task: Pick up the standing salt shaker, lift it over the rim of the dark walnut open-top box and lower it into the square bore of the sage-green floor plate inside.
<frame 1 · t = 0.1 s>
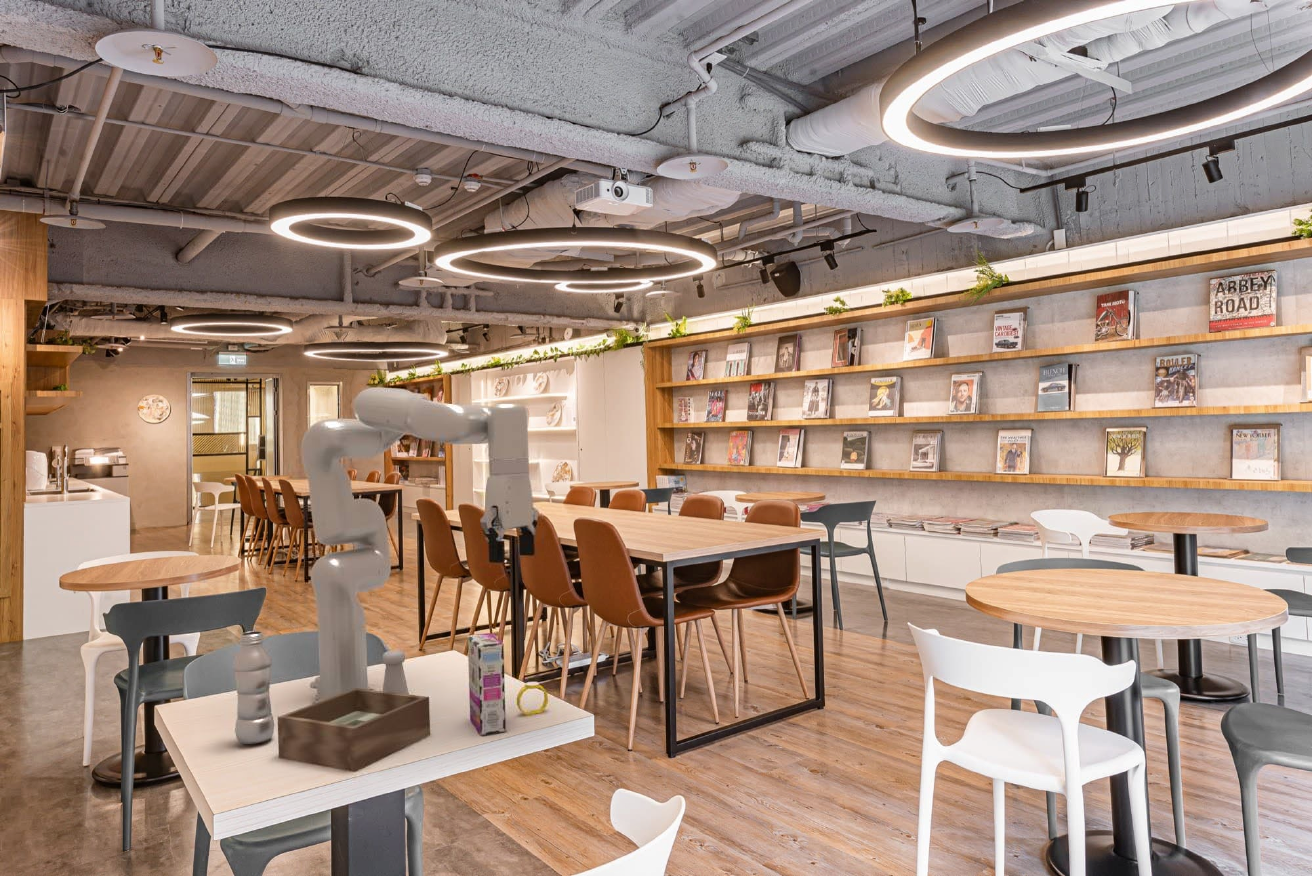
hand: (512, 558, 157), 31 cm above the table, fingers open, 9 cm apart
candy bar box: (488, 726, 156), on the table
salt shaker: (395, 718, 163), on the table
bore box: (356, 746, 147), on the table
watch: (532, 714, 162), on the table
plastic bottle: (255, 743, 151), on the table
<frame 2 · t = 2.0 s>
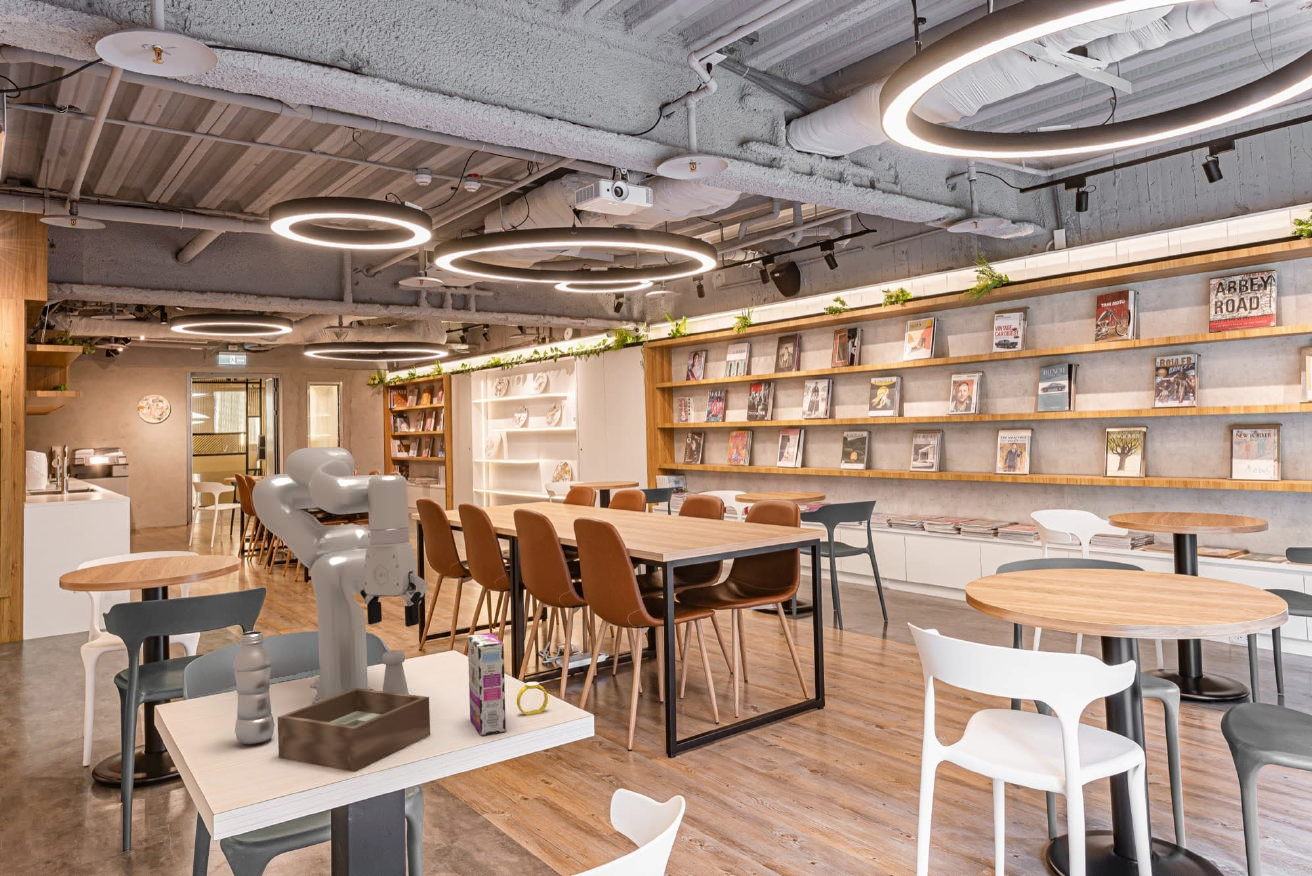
hand: (393, 624, 163), 18 cm above the table, fingers open, 9 cm apart
nothing on the table moved.
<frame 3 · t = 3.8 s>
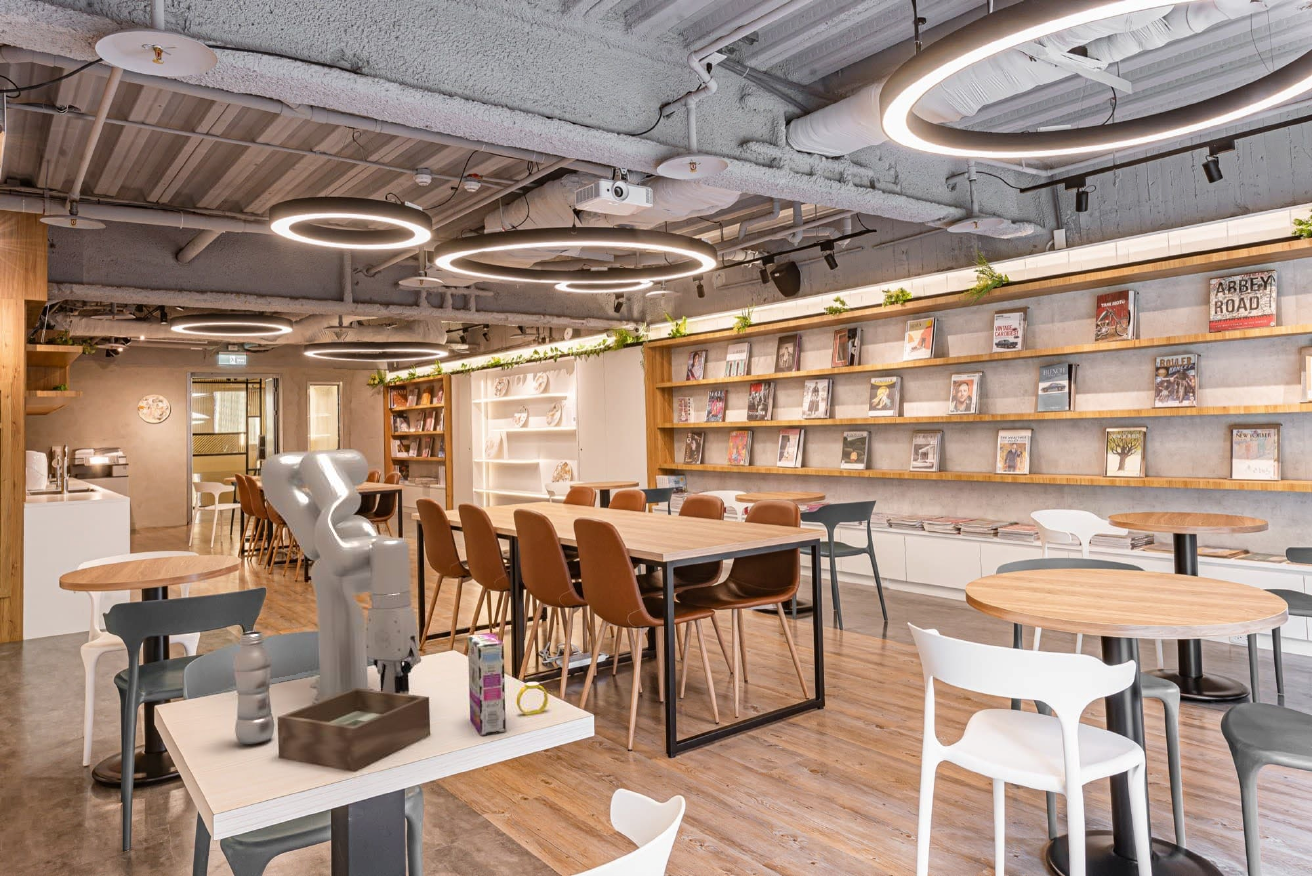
hand: (395, 693, 163), 5 cm above the table, fingers closed on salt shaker, 3 cm apart
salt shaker: (395, 718, 163), on the table, touching gripper
everything else where it was.
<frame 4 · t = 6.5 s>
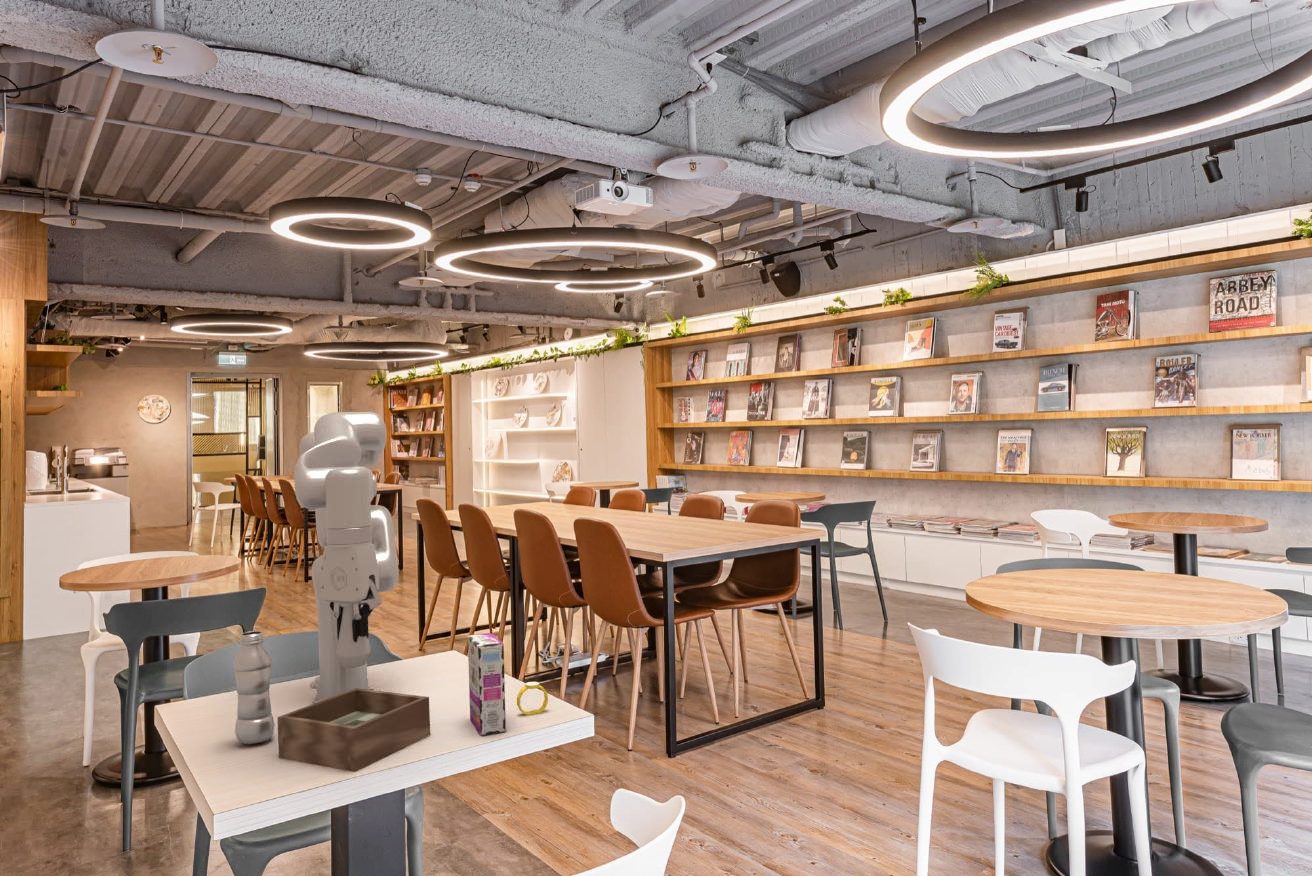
hand: (353, 638, 148), 19 cm above the table, fingers closed on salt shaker, 3 cm apart
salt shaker: (354, 666, 148), point 14 cm above the table, touching gripper
everything else where it was.
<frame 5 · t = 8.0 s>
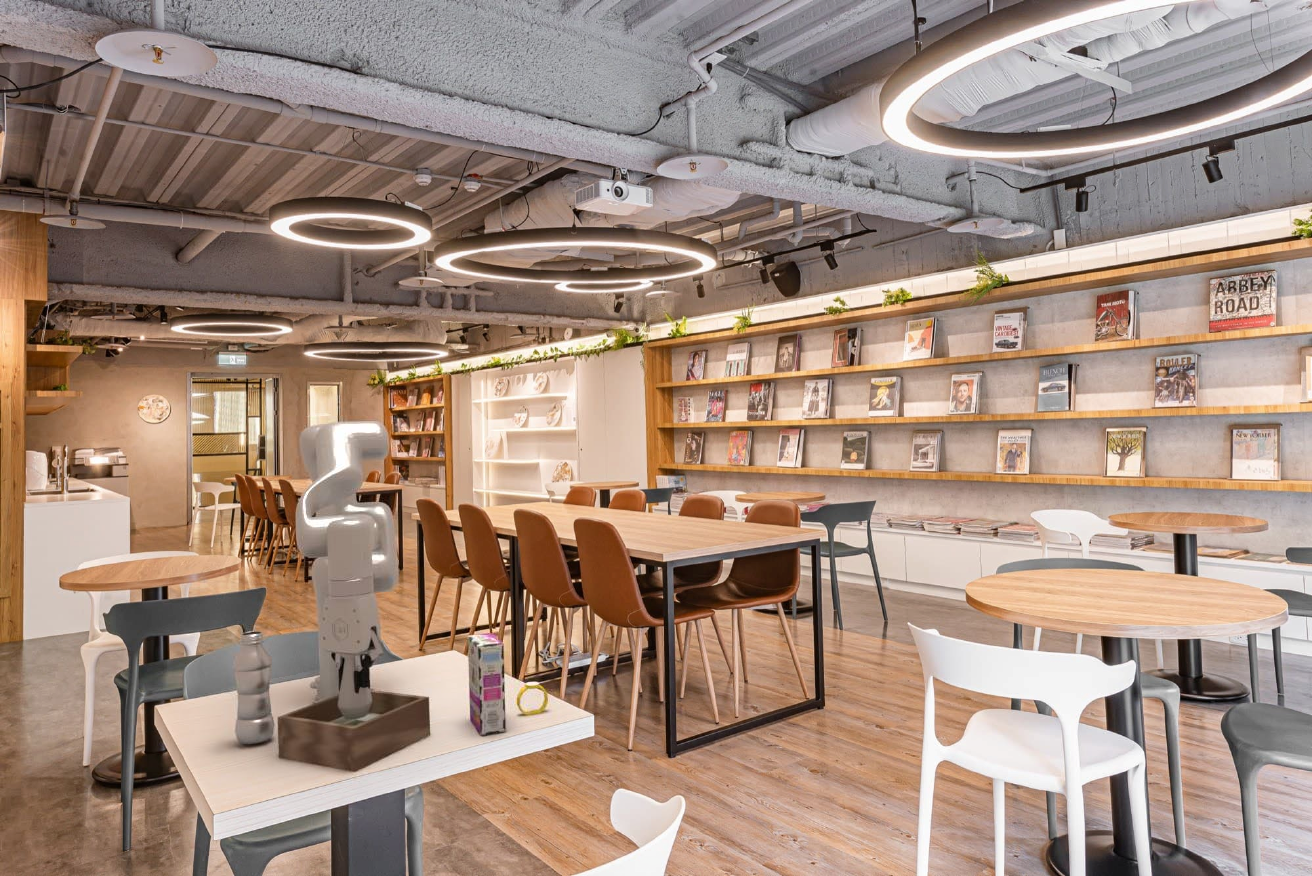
hand: (354, 689, 148), 10 cm above the table, fingers closed on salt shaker, 3 cm apart
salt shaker: (355, 716, 148), point 5 cm above the table, touching gripper
everything else where it was.
when the fingers open (6 cm above the table, at t = 9.3 s): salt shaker stays where it is, resting in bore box.
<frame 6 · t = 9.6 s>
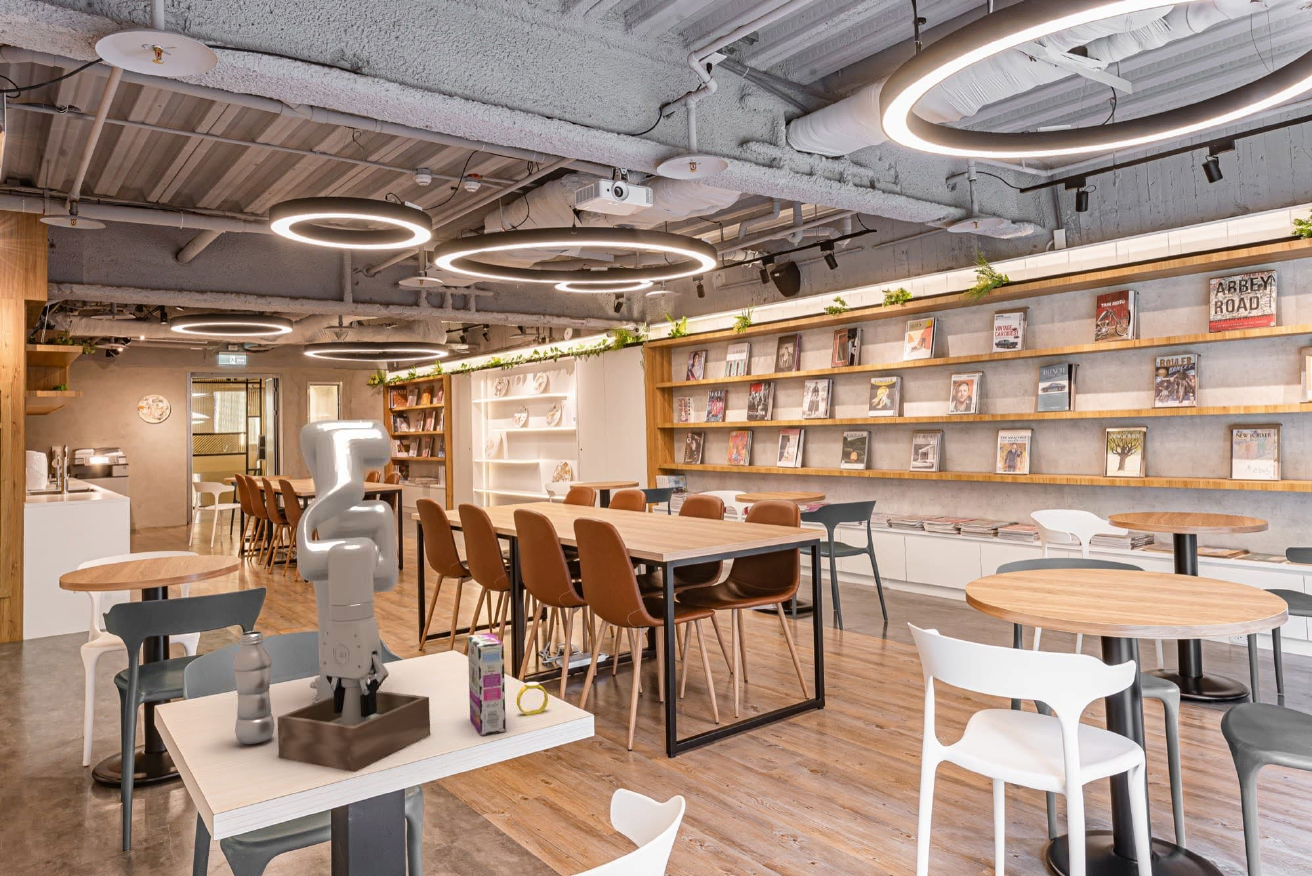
hand: (355, 712, 147), 6 cm above the table, fingers open, 5 cm apart
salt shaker: (356, 746, 147), resting in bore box
everything else where it was.
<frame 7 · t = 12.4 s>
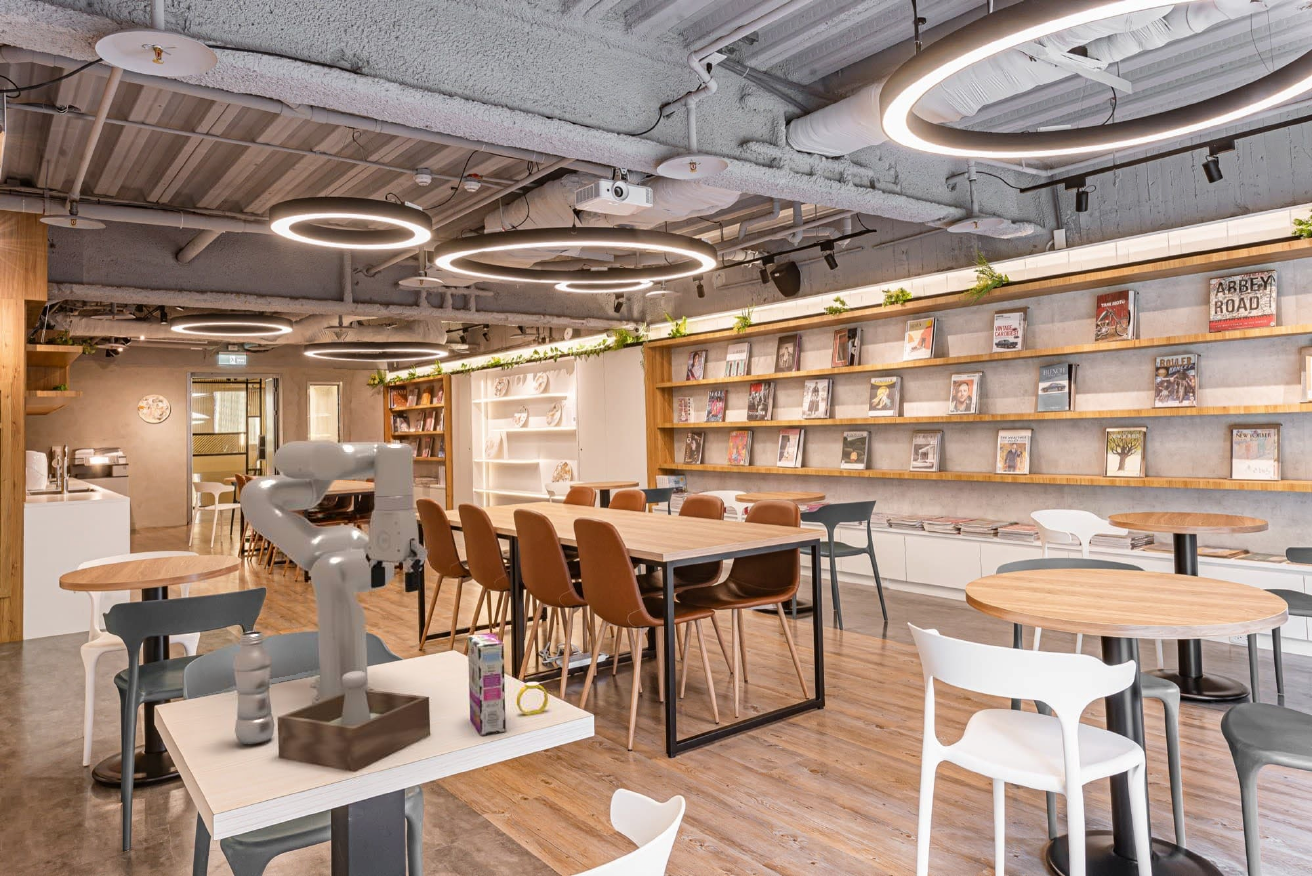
hand: (395, 589, 166), 25 cm above the table, fingers open, 9 cm apart
nothing on the table moved.
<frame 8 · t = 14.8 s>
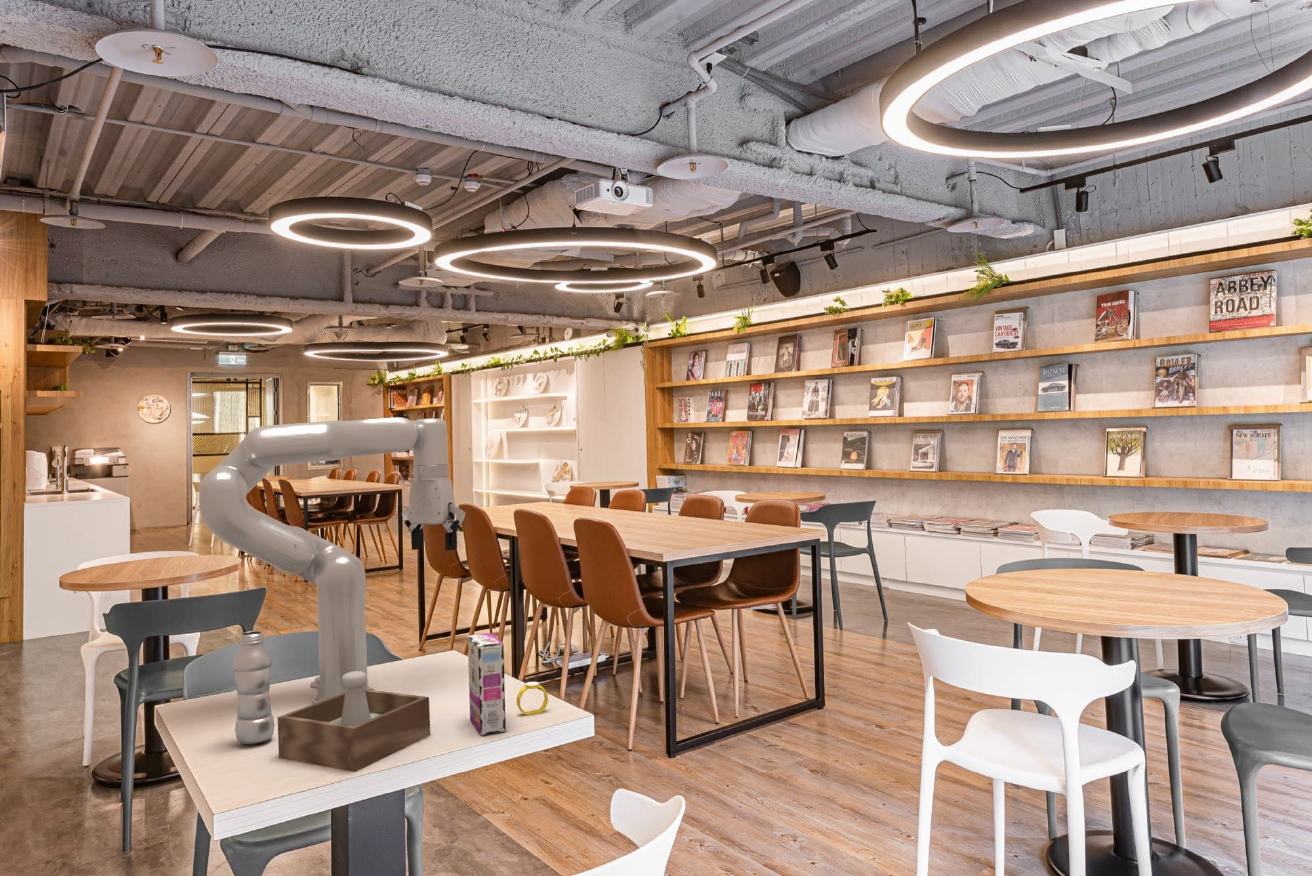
hand: (434, 549, 185), 30 cm above the table, fingers open, 9 cm apart
nothing on the table moved.
at the end: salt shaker 0.3 cm from the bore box (horizontally); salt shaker resting in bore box; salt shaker tilted 0° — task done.
